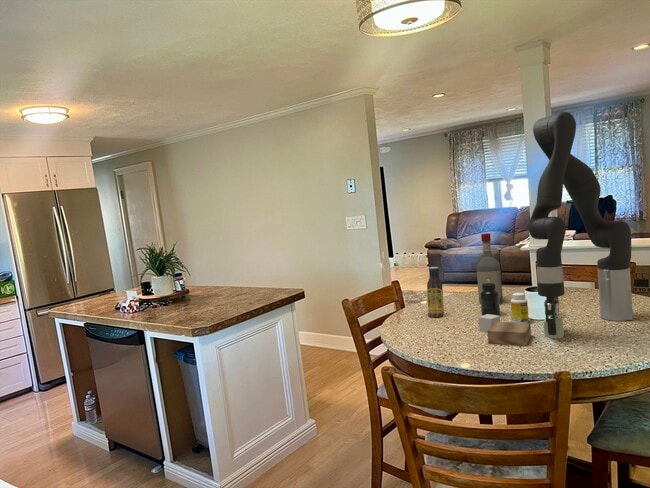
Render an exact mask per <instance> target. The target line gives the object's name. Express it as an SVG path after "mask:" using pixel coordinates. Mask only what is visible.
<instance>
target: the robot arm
mask: <svg viewBox="0 0 650 488" xmlns="http://www.w3.org/2000/svg"><path fill="white" fill-rule="evenodd" d="M576 122H577V121H576V119H575V117H574V115H573V114H572V113H570V112H568V111H561V112H558V113H554V114H551V115H548V116H545V117H542V118H541V117H540V118H539V119H537V120H536V121H535V122H534V124H533V127H532V134H533V136H534V140H535V141H536V143H537V144H538V146H539V148H540V149H541V150H542V152H543V154H544V155H545V156H546V158H547V159H548V160H549V161H548V164H547V165H546V167H545V168H544V170H543V172H542V174H541V175H540V179H539V182H538V186H537V193H536V194H537V197H536V204H535V205H534V208H533V210H532V213H531V216H530V218H529V222H528V226H527V228H528V234H529V236H530V237H531V238H533V239H534V240H547V242H546V245H545V246H543V247H538V248H537V249H536V251H535V252H536V253H535V255H536V256H535V257H536V258H535V259H536V284H537V295H539V297H545V298H546V299H544V302H543V306H544V315H545V318H546V322H547V323H548V334H549V335H556V318H559V315H560V314H559V312H560V300H559V297H562V296H564V295H565V294H566V293H565V281H564V279H565V278H564V277H565V276H564V270H563V264H562V263H563V262H562V250H563V245H564V242H565V241H564V240H565V237H566V233H567V232H566V231H567V229H566V228H567V227H566V223H565V221H564V220H563V218H561V217H559V216H549V215H550V213H551V212H553V211H556V210H559V209H560V208H561V206H562V203H563V191H564V188H565V191H566V192H567V194H568V195H569V198H570V199H571V201H572V202H573V204H574V206H575V208H576V211H577V212H578V213H579V217H580V218H581V220H582V223H583V226H584V229H585V231H586V234H587V236H588V238H589V240H590V242H591V243H592V244H593V245H594V246H595V247H596V248H597V247H598V248H601V249H609V253H608V256H606V257H602V258H600V259H598V260H597V263H596V264H597V265H596V266H597V279H598V280H597V281H598V297H599V309H600V310H599V313H600V318H601V319H603V320H607V321H612V322H613V321H614V322H615V321H616V322H620V321H621V322H622V321H625V322H626V321H633V320H634V312H633V310H634V308H633V296H632V295H633V294H632V284H631V283H632V282H631V265H630V264H631V260H632V230H631V228H630V226H629V223H627V222H626V221H624V220H604V218H603V217H602V215H601V213H600V211H599V207H598V206H599V201H600V197H601V190H602V189H601V184H600V183H599V180H598V178H597V176H596V174H595V173H594V171H593V169H592V168H591V167H590V166H588V165H587V164H586V162H584V161H582V160H580V159H579V158H577V157H576V156H574V155H573V154H572V152H571V151H572V148H573V145H574V141H575V137H576V132H577V123H576ZM549 318H553V319H549Z"/></svg>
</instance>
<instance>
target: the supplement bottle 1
mask: <svg viewBox="0 0 650 488" xmlns="http://www.w3.org/2000/svg"><path fill="white" fill-rule="evenodd" d="M482 289H483V291H482V292H481V293H480V300H481V304H480V309H481V310H480V311H481V316H483V315H486V314H491V315H498V316H500V315H501V304H499V293H498V292H497V291H496V290H495V289H496V287H495V284H494V283H486V284H482Z"/></svg>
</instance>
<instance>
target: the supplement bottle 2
mask: <svg viewBox="0 0 650 488" xmlns="http://www.w3.org/2000/svg"><path fill="white" fill-rule="evenodd" d="M528 305H529V304H528V299H526V295H525V293H523V292H515V293H512V298H511V299H510V310H511V311H510V313H511V321H512V322H515V323H529V319H530V318H529V306H528Z"/></svg>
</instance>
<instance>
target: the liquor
mask: <svg viewBox="0 0 650 488" xmlns="http://www.w3.org/2000/svg"><path fill="white" fill-rule="evenodd" d="M480 235H481V236H480V237H481V242H482V257H481V259H480V260H479V262H478V263H477V264H476V278H477V279H476V280H477V290H478V302H479V304H480V305H481V300H480V293H481V292H482V291H483V289H482V284H486V283H494V284H495V287H496V289H495V290H496V291H497V292H498V293H499V304H500V305H502V302H503V299H504V297H503V287H502V286H503V285H502V284H503V283H502V274H501V273H502V271H501V264H500V262H499V261H498V260H497V259H496V258H495V257H494V256H493V253H492V250H491V249H492V247H491V242H492V241H491V240H492V239H491V233H488V232H487V233H481V234H480Z"/></svg>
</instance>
